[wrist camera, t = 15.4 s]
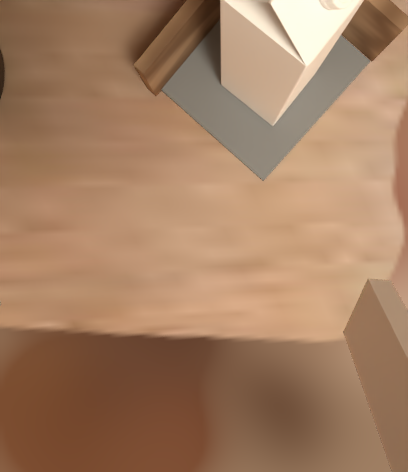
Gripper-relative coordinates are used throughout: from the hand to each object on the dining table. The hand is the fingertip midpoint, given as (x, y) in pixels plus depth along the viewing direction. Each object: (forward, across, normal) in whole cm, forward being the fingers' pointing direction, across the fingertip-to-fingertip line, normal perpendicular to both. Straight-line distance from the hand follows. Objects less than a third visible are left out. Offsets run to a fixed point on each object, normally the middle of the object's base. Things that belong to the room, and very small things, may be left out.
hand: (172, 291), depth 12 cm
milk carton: (+31, +6, +1) cm, 31 cm away
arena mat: (+31, +6, +2) cm, 32 cm away
